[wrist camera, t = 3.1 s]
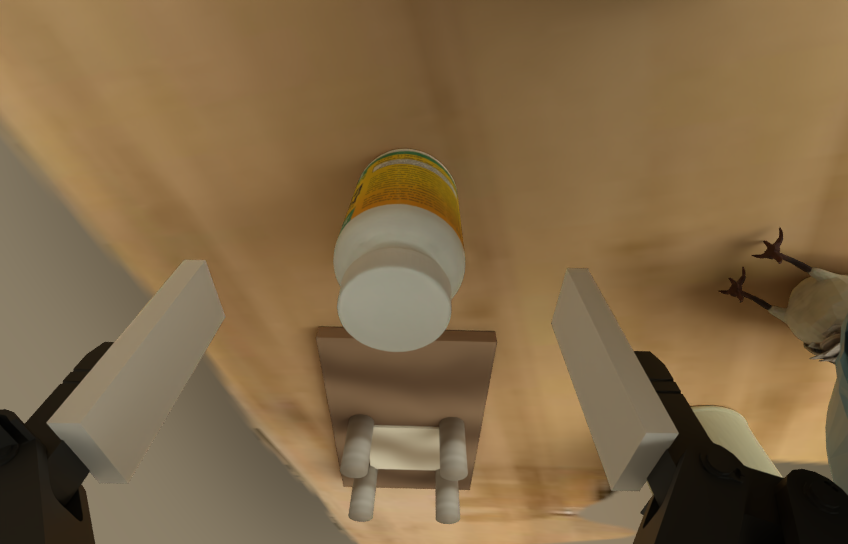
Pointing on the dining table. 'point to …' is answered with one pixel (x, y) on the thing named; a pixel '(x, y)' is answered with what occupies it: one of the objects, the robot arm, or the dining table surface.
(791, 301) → the decorative bird
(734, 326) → the dining table surface
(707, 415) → the can
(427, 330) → the supplement bottle
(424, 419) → the pin nest
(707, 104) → the dining table surface
